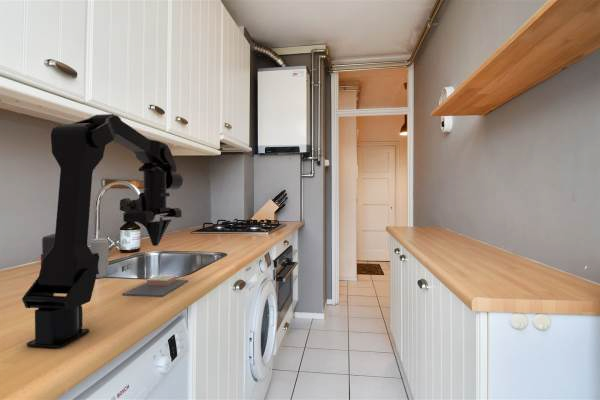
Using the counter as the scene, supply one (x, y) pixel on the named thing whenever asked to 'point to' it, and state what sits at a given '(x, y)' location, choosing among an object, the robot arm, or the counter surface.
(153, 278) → the tile
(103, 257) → the beverage can
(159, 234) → the robot arm
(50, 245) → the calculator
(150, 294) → the mat
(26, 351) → the counter surface
